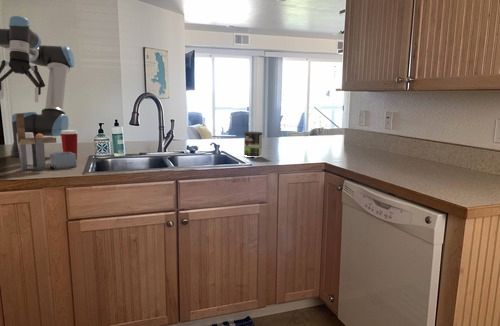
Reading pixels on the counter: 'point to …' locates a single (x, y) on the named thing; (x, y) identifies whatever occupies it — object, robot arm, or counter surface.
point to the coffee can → (253, 143)
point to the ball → (39, 136)
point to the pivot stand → (38, 156)
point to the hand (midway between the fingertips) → (19, 100)
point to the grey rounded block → (63, 160)
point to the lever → (21, 132)
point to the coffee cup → (69, 141)
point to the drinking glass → (28, 148)
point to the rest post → (23, 157)
